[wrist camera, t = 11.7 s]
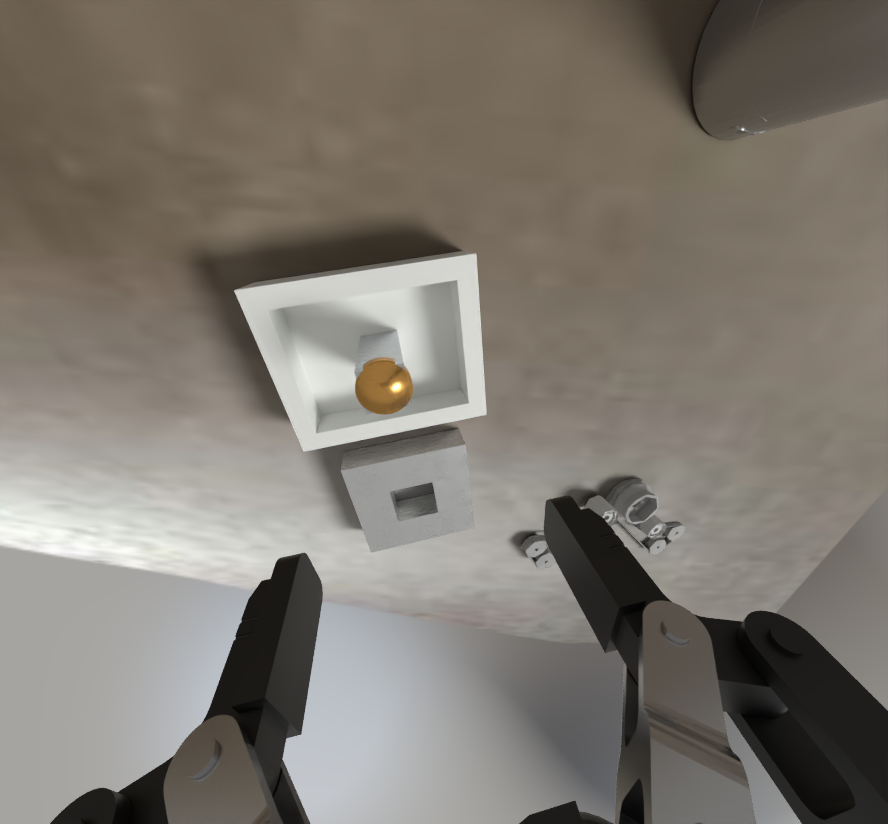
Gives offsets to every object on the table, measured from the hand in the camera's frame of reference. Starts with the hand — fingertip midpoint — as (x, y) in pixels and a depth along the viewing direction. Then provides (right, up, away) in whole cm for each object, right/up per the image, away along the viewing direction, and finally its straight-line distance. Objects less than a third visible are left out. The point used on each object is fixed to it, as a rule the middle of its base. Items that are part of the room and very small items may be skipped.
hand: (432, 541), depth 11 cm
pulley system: (+25, -11, +36) cm, 45 cm away
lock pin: (-5, +10, +16) cm, 19 cm away
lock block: (-3, -4, +25) cm, 26 cm away
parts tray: (-5, +10, +17) cm, 20 cm away
